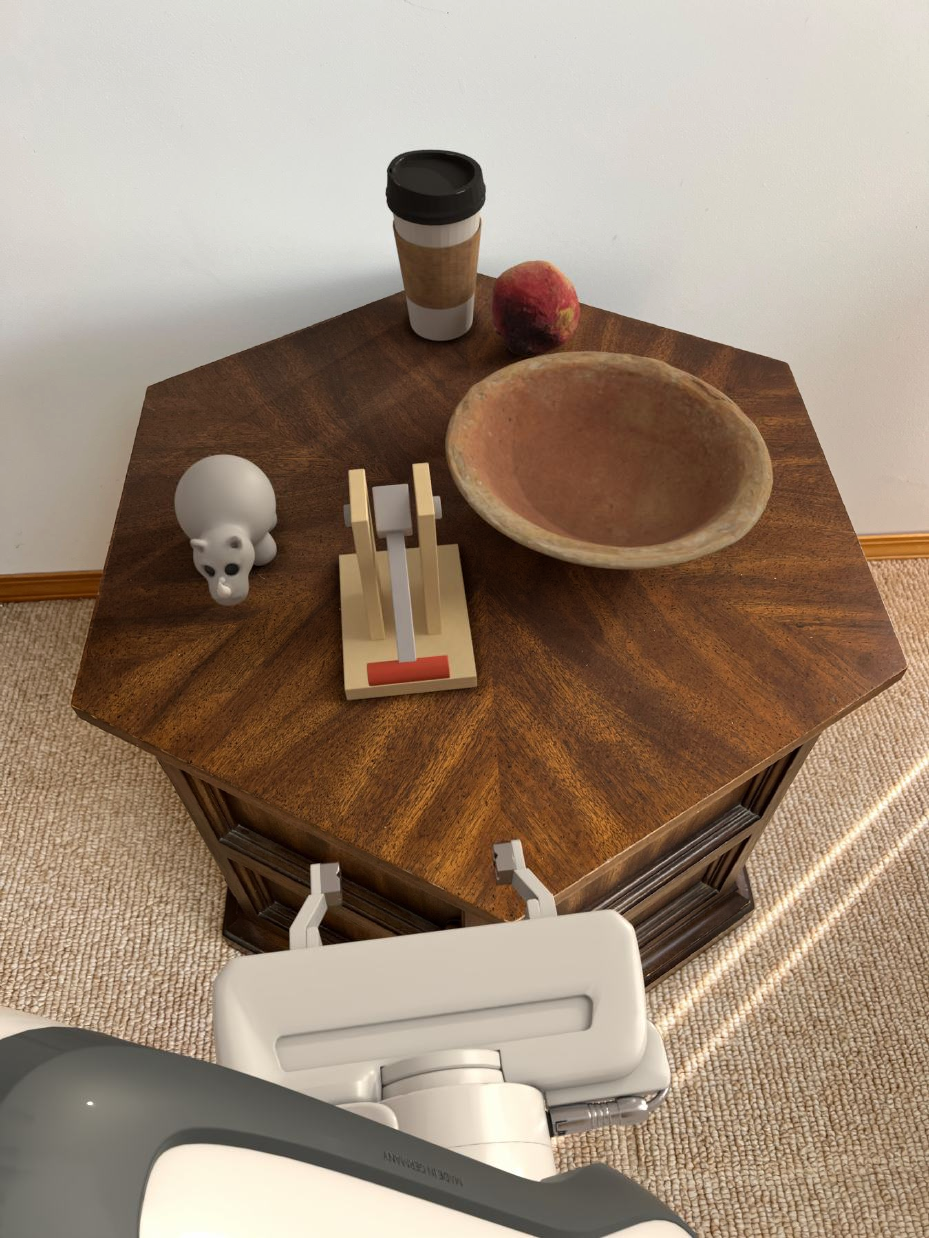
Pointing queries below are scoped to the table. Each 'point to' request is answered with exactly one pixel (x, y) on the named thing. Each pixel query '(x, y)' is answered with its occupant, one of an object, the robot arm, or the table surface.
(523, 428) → the bowl
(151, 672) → the table surface
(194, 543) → the chubby cartoon animal
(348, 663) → the wooden lever stand
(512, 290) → the fruit
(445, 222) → the coffee cup
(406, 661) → the lever
